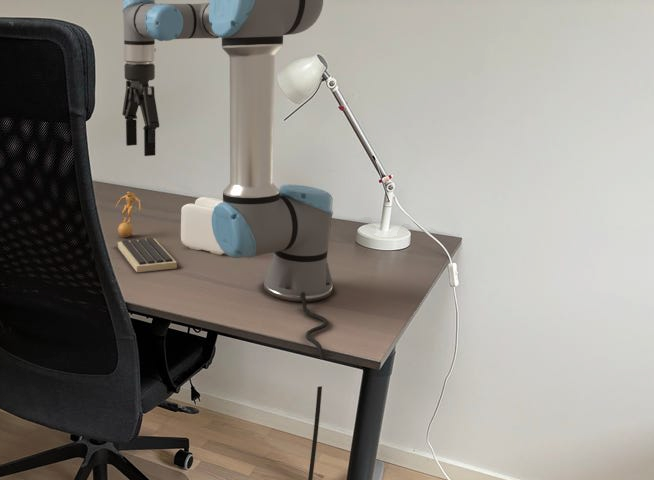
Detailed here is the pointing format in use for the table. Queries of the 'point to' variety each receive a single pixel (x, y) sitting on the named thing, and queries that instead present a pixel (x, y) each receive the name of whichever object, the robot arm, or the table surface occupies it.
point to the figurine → (125, 227)
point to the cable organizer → (199, 225)
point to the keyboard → (146, 255)
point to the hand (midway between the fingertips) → (140, 150)
